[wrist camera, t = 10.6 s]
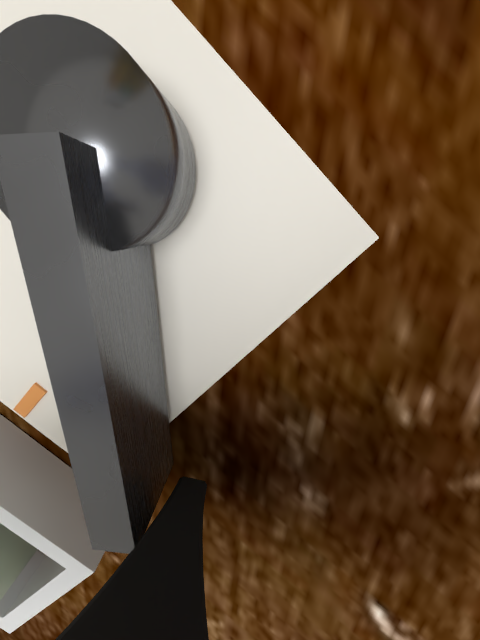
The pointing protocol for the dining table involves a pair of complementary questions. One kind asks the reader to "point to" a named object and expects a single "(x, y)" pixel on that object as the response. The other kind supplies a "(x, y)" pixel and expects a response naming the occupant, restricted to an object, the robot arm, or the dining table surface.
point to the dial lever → (95, 251)
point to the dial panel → (197, 220)
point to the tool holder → (41, 525)
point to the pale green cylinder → (12, 557)
